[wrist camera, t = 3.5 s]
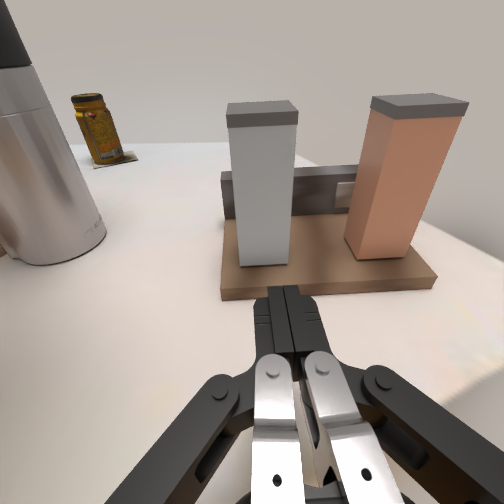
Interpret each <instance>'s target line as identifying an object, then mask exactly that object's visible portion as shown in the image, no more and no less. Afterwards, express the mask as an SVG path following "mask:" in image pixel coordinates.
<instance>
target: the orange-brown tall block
mask: <svg viewBox="0 0 504 504" xmlns="http://www.w3.org/2000/svg"><path fill="white" fill-rule="evenodd" d="M468 105H469V102H466V101H462V100H458V99H454V98H450V97H446V96H442V95H438V94H433V93H428V94H407V95H388V96H373V97H372V101H371V106H370V108H371V110H370V115H369V119H368V124H367V129H366V134H365V138H364V143H363V148H362V152H361V157H360V162H359V166H358V171H357V176H356V180H355V185H354V190H353V194H352V199H351V204H350V208H349V213H348V218H347V222H346V227H345V232H344V237H345V239H346V240H347V242H348V244H349V246H350V248H351V249H352V251H353V253H354V255H355V257H356V258H357V260H359V259H376V258H394V257H405V255H406V253H407V250H408V248H409V245H410V243H411V241H412V238H413V236H414V233H415V231H416V228H417V226H418V223H419V221H420V218H421V216H422V214H423V211H424V209H425V206H426V204H427V202H428V199H429V197H430V194H431V192H432V189H433V187H434V185H435V182H436V180H437V177H438V174H439V172H440V170H441V167H442V165H443V163H444V160H445V158H446V155H447V153H448V150H449V148H450V146H451V143H452V141H453V138H454V136H455V133H456V131H457V129H458V126H459V124H460V121H461V119H462V116H464V115H465V112H466V110H467V107H468Z"/></svg>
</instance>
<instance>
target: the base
mask: <svg viewBox="0 0 504 504" xmlns="http://www.w3.org/2000/svg"><path fill="white" fill-rule="evenodd" d="M358 166H359V165H341V166H321V167H302V168H294V176H293V192H292V208H291V224H290V240H289V257H288V264H270V265H253V266H240V261H239V249H238V237H237V226H236V214H235V203H234V191H233V179H232V171H225V172H221V189H222V198H223V206H224V215H225V228H224V242H223V256H222V271H221V285H220V291H221V297H222V301H225V300H242V299H257V298H262V297H267V286H282V285H296V284H297V285H298V287H299V291H300V295H310V296H311V295H328V294H345V293H363V292H380V291H397V290H414V289H431V288H432V286H433V284H434V283H435V281H436V279H437V277H438V276H437V275H436V274H435V273H434V272H433V270H432V269H431V268H430V267H429V266H428V265H427V263H426V262H425V261H424V260H423V259H422V258H421V256H420V255H419V254H418V253H417V252H416V251H415V250H414V248H413V247H412V246H411V245H409V248H408V250H407V253H406V255H405V257H394V258H376V259H359V260H357V258H356V257H355V255H354V253H353V251H352V249H351V248H350V246H349V244H348V242H347V240H346V239H345V237H344V232H345V227H346V222H347V218H348V213H349V208H350V204H351V199H352V194H353V190H354V185H355V180H356V176H357V171H358Z"/></svg>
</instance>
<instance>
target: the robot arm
mask: <svg viewBox="0 0 504 504" xmlns="http://www.w3.org/2000/svg"><path fill="white" fill-rule="evenodd" d="M30 64H32V62H31V60H30V58H29V56H28V54H27V51H26V49H25V47H24V45H23V43H22V40H21V38H20V36H19V34H18V31H17V29H16V27H15V24H14V22H13V20H12V17H11V15H10V13H9V11H8V8H7V6H6V4H5V1H4V0H0V244H1V245H2V247H3V248H4V249H5V250H6V252H7V253H8V254H9V256H10V257H11V258H20V259H22V260H23V261H24V262H26V263H29V264H35V265H46V264H53V263H58V262H62V261H66V260H69V259H71V258H74V257H77V256H79V255H81V254H83V253H85V252H87V251H88V250H90V249H92V248H93V247H95V246H96V245H97V244H98V243H99V242H100V241H101V240H102V239H103V238H104V236H105V234H106V228H105V226H104V223H103V221H102V218H101V216H100V214H99V212H98V210H97V208H96V205H95V203H94V200H93V198H92V196H91V194H90V191H89V189H88V187H87V185H86V182H85V180H84V178H83V176H82V174H81V171H80V169H79V167H78V165H77V162H76V160H75V158H74V156H73V153H72V151H71V149H70V147H69V144H68V142H67V140H66V138H65V136H64V133H63V131H62V129H61V127H60V124H59V122H58V120H57V118H56V115H55V114H54V111H53V109H52V107H51V104H50V102H49V100H48V98H47V96H46V93H45V91H44V89H43V87H42V85H41V82H40V80H39V78H38V75H37V73H36V71H35V69H34V67H33V66H32V65H30ZM253 309H254V326H255V343H256V359H255V362H254V364H253V365H252V367H251V368H250V369H249V370H248V371H246V372H244V373H242V374H240V375H238V376H235V377H233V378H232V377H231V376H229V375H225V374H219V375H215V376H213V377H211V378H210V379H209V380H208V381H207V382H206V383H205V384H204V385H203V386H202V388H201V389H200V390H199V391H198V392H197V394H196V395H195V396H194V397H193V398H192V400H191V401H190V402H189V403H188V404H187V405H186V407H185V408H184V409H183V410H182V411H181V413H180V414H179V415H178V416H177V417H176V419H175V420H174V421H173V422H172V423H171V425H170V426H169V427H168V428H167V429H166V431H165V432H164V433H163V434H162V435H161V436H160V438H159V439H158V440H157V441H156V442H155V444H154V445H153V446H152V447H151V448H150V450H149V451H148V452H147V453H146V454H145V456H144V457H143V458H142V459H141V460H140V461H139V463H138V464H137V465H136V466H135V467H134V469H133V470H132V471H131V472H130V473H129V475H128V476H127V477H126V478H125V479H124V481H123V482H122V483H121V484H120V485H119V487H118V488H117V489H116V490H115V491H114V492H113V494H112V495H111V496H110V497H109V498H108V500H107V501H106V502H105V503H104V504H195V502H196V501H197V499H198V498H199V496H200V495H201V493H202V492H203V490H204V488H205V487H206V485H207V484H208V482H209V481H210V479H211V478H212V476H213V474H214V473H215V471H216V470H217V468H218V467H219V465H220V464H221V462H222V461H223V459H224V457H225V456H226V454H227V453H228V451H229V450H230V448H231V447H232V445H233V443H234V442H235V440H236V439H237V437H238V436H239V434H240V433H241V431H243V430H245V429H247V428H249V427H252V426H254V429H253V460H252V491H251V492H249V493H248V494H246V495H245V496H243V497H242V498H241V499H240V500H239V501H238V502H237V503H236V504H415V503H414V502H413V501H411V500H410V499H409V498H408V497H407V496H405V495H404V494H403V493H401V492H400V491H399V489H398V487H397V484H396V482H395V480H394V477H393V475H392V473H391V470H390V468H389V466H388V463H387V461H386V459H385V456H384V454H383V452H382V450H384V451H385V452H386V453H387V454H388V455H389V456H390V457H391V458H392V459H393V460H394V461H395V462H396V463H397V464H398V465H400V467H402V468H403V469H404V470H405V471H406V472H407V473H408V474H409V475H410V476H411V477H412V478H413V479H414V480H415V481H416V482H418V483H419V484H420V485H421V486H422V487H423V488H424V489H425V490H426V491H427V492H428V493H429V494H430V495H431V496H432V497H433V498H434V499H435V500H436V501H437V502H439V503H440V504H504V452H503V451H501V450H500V449H499V448H497V447H496V446H495V445H493V444H492V443H491V442H489V441H488V440H486V439H485V438H484V437H482V436H481V435H479V434H478V433H477V432H476V431H474V430H473V429H471V428H470V427H469V426H467V425H466V424H465V423H463V422H462V421H461V420H459V419H458V418H456V417H455V416H454V415H452V414H451V413H449V412H448V411H447V410H446V409H444V408H443V407H441V406H440V405H439V404H437V403H436V402H435V401H433V400H432V399H431V398H429V397H428V396H426V395H425V394H424V393H422V392H421V391H420V390H418V389H417V388H416V387H414V386H413V385H412V384H410V383H409V382H407V381H406V380H405V379H403V378H402V377H401V376H399V375H398V374H397V373H395V372H394V371H392V370H391V369H389V368H387V367H385V366H381V365H373V366H370V367H368V368H367V369H366V370H363V369H359V368H355V367H351V366H348V365H346V364H343V363H342V362H340V361H339V360H338V359H337V358H336V357H335V356H334V355H333V353H332V352H331V349H330V346H329V343H328V340H327V336H326V333H325V330H324V327H323V324H322V321H321V317H320V314H319V311H318V307H317V304H316V302H315V301H314V300H313V298H312V297H311V296H310V295H300V291H299V287H298V285H297V284H296V285H282V286H267V297H262V298H257V299H256V301H255V304H254V306H253ZM292 379H293V382H296V381H299V386H300V391H301V393H300V401H301V405H302V409H303V413H304V417H305V421H306V425H307V429H308V433H309V437H310V441H311V445H312V450H313V456H314V466H315V471H316V476H317V480H318V484H319V488H316V487H312V486H309V485H305V484H303V479H302V469H301V458H300V447H299V437H298V430H297V427H296V421H295V410H294V399H293V388H292ZM361 474H362V475H361Z"/></svg>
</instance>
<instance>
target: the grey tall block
mask: <svg viewBox="0 0 504 504" xmlns="http://www.w3.org/2000/svg"><path fill="white" fill-rule="evenodd" d="M226 119H227V128H228V132H229V144H230V156H231V168H232V179H233V191H234V203H235V214H236V226H237V237H238V249H239V261H240V266H253V265H270V264H288V257H289V240H290V224H291V208H292V192H293V176H294V160H295V143H296V127H297V124H298V110H297V109H296V108H295V107H294V106H293V105H292V104H291V102H289V100H287V101H286V100H285V101H265V102H245V103H228V106H227V112H226Z"/></svg>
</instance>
